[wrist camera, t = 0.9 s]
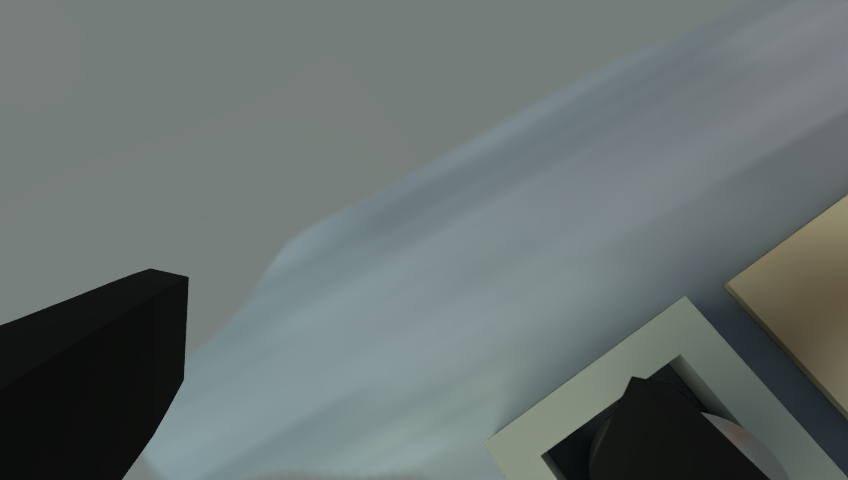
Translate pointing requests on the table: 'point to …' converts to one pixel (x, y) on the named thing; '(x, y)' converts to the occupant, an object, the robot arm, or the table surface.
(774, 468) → the grey cylinder
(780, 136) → the table surface
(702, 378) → the housing
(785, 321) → the coaster
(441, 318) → the table surface
